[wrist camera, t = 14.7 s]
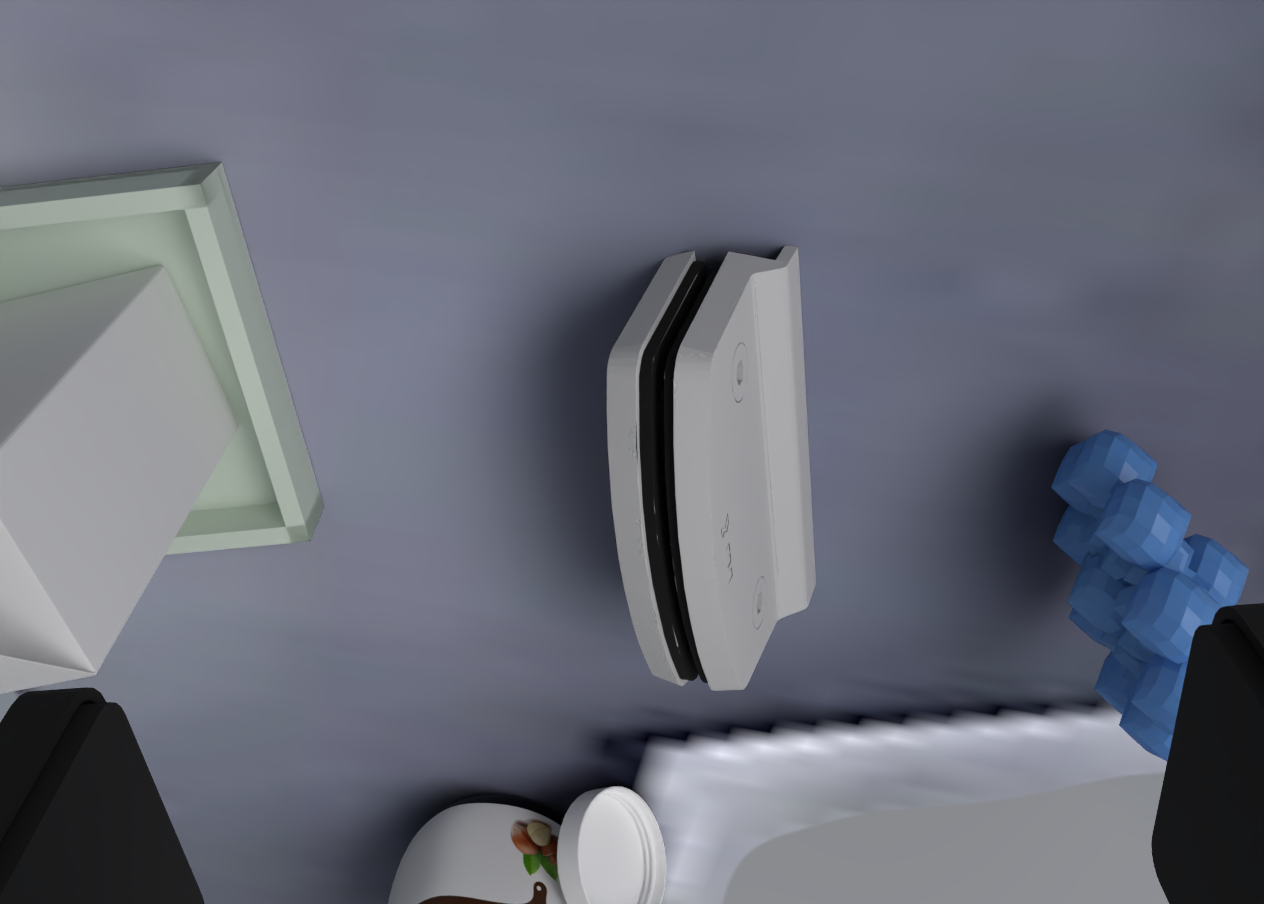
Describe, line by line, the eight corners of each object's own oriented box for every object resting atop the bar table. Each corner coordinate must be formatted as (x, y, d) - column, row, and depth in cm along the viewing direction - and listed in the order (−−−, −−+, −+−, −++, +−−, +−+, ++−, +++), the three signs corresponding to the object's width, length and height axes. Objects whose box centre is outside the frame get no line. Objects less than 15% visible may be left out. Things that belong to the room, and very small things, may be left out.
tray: (-98, 198, 43) (-136, 221, 41) (222, 162, 42) (200, 184, 40) (51, 533, 51) (25, 567, 48) (323, 507, 50) (310, 541, 48)
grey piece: (816, 590, 52) (760, 752, 44) (714, 578, 54) (643, 732, 46) (797, 236, 44) (724, 358, 36) (677, 235, 45) (582, 352, 38)
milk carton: (243, 423, 47) (38, 779, 31) (81, 459, 48) (-202, 824, 32) (166, 261, 44) (-110, 567, 27) (-7, 303, 44) (-376, 623, 28)
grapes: (1184, 593, 52) (1320, 799, 42) (1031, 621, 53) (1127, 829, 43) (1186, 366, 47) (1344, 540, 36) (1014, 401, 47) (1121, 581, 37)
